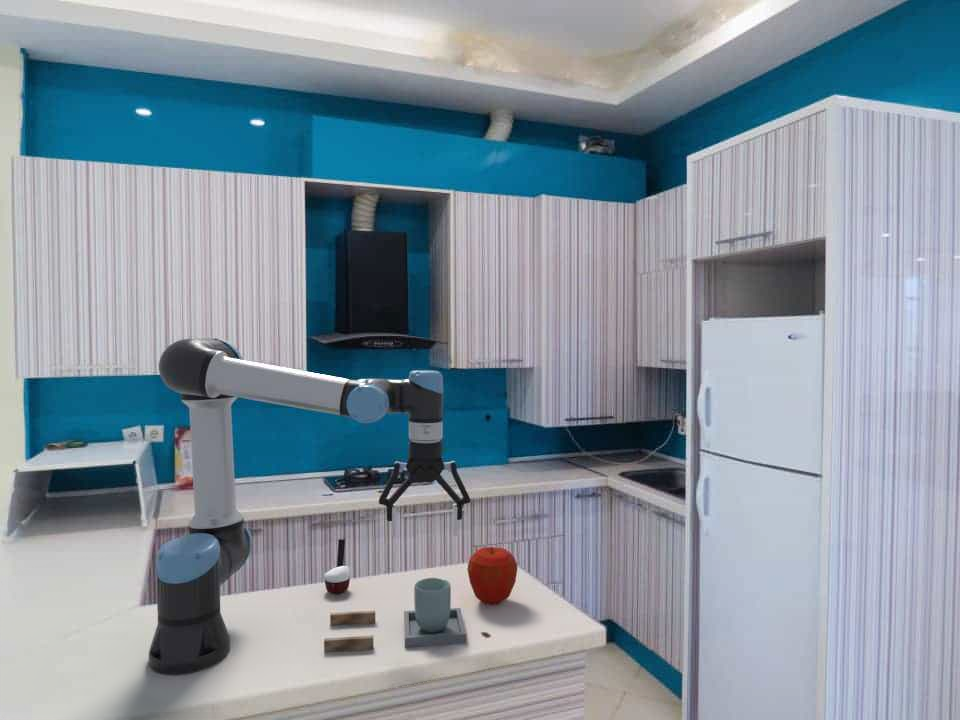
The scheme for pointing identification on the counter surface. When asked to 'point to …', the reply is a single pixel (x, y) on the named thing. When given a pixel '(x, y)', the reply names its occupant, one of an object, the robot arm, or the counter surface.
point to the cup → (432, 604)
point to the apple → (492, 574)
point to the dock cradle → (447, 636)
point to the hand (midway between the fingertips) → (424, 534)
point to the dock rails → (350, 642)
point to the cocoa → (338, 573)
